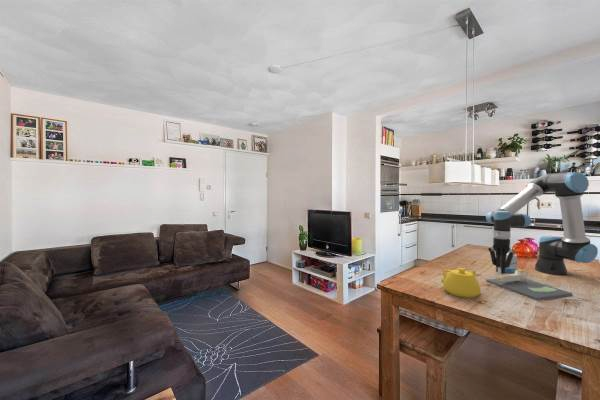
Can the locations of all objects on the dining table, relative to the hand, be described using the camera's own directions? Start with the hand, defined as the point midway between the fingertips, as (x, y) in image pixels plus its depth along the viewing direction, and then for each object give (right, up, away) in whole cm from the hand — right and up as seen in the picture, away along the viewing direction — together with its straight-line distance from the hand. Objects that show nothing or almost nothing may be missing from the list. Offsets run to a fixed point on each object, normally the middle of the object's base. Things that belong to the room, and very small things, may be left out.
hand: (500, 278), depth 147 cm
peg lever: (+4, -1, -2) cm, 5 cm away
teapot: (-30, -4, -11) cm, 32 cm away
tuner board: (+8, -3, -8) cm, 12 cm away
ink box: (+21, -2, +22) cm, 30 cm away
